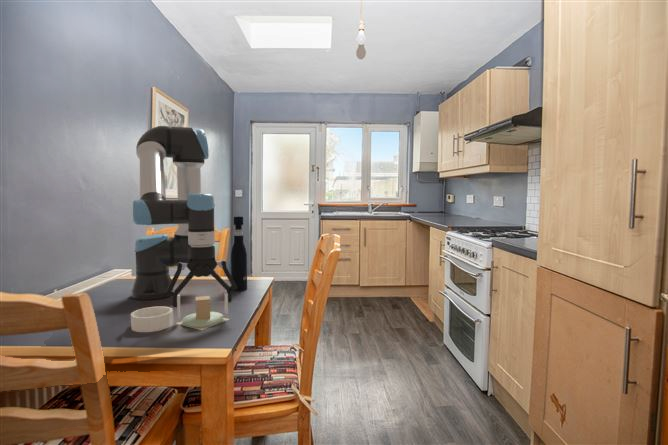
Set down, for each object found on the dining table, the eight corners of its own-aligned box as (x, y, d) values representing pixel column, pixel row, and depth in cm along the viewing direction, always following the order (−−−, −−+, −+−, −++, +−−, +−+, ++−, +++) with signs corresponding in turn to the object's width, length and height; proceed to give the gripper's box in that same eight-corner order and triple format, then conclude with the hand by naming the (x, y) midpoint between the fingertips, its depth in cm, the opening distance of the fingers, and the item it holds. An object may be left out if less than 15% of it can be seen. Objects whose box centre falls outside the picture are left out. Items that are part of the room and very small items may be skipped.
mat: (175, 326, 116) (175, 323, 116) (204, 316, 126) (204, 313, 126) (201, 333, 111) (201, 330, 111) (229, 322, 120) (229, 319, 120)
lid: (182, 329, 111) (181, 305, 110) (183, 317, 121) (182, 294, 121) (224, 325, 115) (224, 301, 114) (221, 313, 126) (221, 291, 125)
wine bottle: (232, 287, 164) (231, 216, 162) (248, 287, 165) (247, 216, 163) (230, 291, 158) (228, 217, 156) (246, 290, 159) (245, 217, 156)
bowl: (123, 330, 112) (122, 313, 112) (157, 320, 122) (156, 304, 121) (147, 338, 107) (147, 320, 107) (180, 326, 116) (180, 309, 116)
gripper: (154, 248, 108) (157, 323, 110) (245, 245, 117) (246, 314, 119) (156, 245, 115) (159, 315, 117) (242, 242, 124) (243, 307, 126)
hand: (203, 315), depth 118 cm, fingers open, 13 cm apart
